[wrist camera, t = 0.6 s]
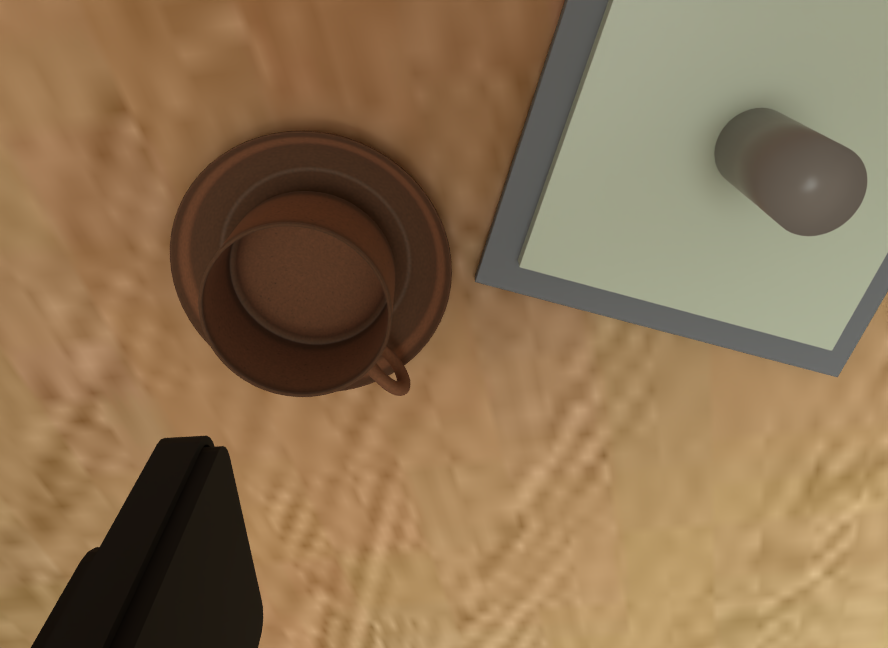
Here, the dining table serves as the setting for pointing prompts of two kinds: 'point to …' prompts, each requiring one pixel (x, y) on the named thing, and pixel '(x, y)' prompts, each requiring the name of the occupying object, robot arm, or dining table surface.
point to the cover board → (668, 175)
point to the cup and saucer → (311, 264)
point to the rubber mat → (504, 272)
